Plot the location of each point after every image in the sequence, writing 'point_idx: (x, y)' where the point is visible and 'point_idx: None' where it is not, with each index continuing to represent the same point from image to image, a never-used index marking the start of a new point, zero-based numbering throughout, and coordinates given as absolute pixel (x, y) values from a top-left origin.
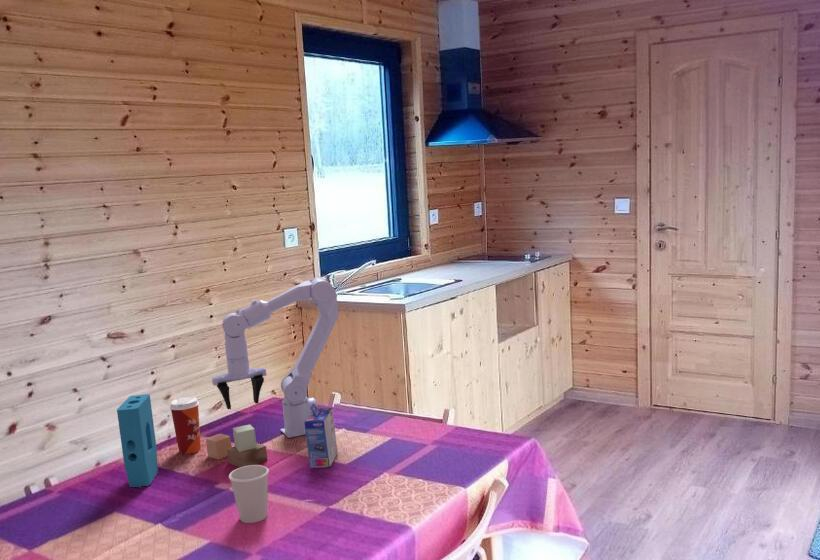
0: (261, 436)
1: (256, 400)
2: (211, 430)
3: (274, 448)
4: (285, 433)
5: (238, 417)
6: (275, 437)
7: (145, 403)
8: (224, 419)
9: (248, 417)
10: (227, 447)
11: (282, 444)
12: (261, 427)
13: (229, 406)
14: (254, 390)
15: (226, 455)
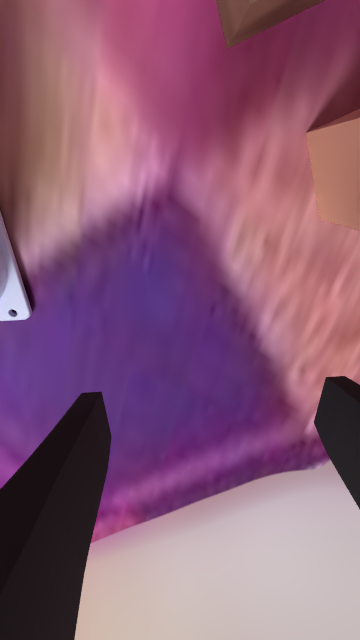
0: (122, 298)
1: (88, 408)
2: (260, 443)
3: (84, 57)
4: (5, 242)
5: (158, 495)
6: (62, 247)
7: None
8: (198, 498)
9: (130, 484)
10: (357, 113)
11: (32, 103)
12: (105, 391)
13: (356, 388)
14: (67, 543)
15: (344, 116)
